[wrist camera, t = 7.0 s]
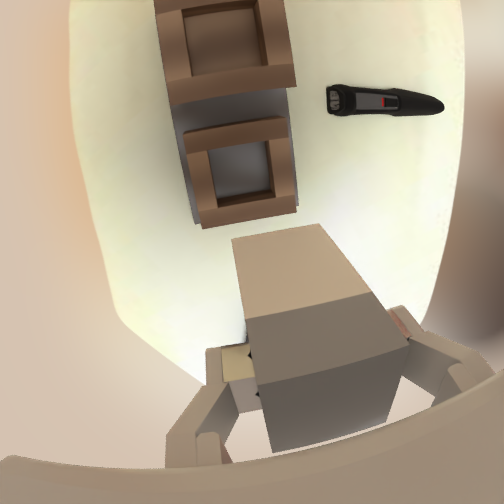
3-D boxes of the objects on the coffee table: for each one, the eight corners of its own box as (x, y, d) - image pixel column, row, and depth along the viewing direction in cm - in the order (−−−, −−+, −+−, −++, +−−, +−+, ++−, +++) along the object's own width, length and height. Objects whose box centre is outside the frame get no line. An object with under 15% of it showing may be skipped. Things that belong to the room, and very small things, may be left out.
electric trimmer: (430, 119, 35) (445, 122, 32) (326, 115, 33) (337, 118, 30) (430, 92, 33) (445, 94, 30) (325, 84, 31) (335, 83, 29)
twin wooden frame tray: (157, 18, 25) (140, -8, 17) (269, 1, 26) (290, -27, 18) (195, 219, 37) (192, 258, 29) (295, 201, 38) (320, 234, 29)
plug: (231, 239, 14) (257, 385, 7) (318, 223, 14) (410, 344, 7) (244, 309, 16) (272, 453, 9) (321, 294, 16) (385, 421, 9)
